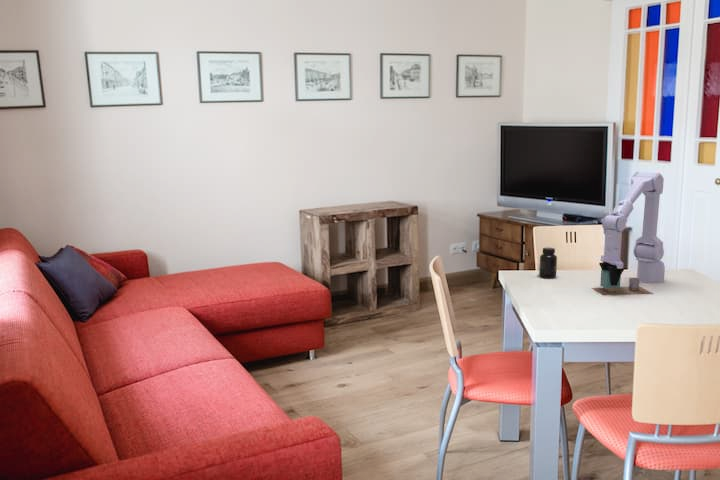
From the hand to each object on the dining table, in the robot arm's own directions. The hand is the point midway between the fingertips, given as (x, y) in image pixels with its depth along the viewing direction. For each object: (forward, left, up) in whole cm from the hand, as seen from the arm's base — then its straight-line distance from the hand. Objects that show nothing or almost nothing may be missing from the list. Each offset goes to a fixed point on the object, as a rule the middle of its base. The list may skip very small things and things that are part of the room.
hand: (610, 283), depth 247 cm
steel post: (-9, 0, -3) cm, 9 cm away
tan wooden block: (0, 0, -3) cm, 3 cm away
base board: (-5, 0, -4) cm, 6 cm away
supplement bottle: (+14, -28, -4) cm, 32 cm away
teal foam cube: (0, 0, -2) cm, 2 cm away
